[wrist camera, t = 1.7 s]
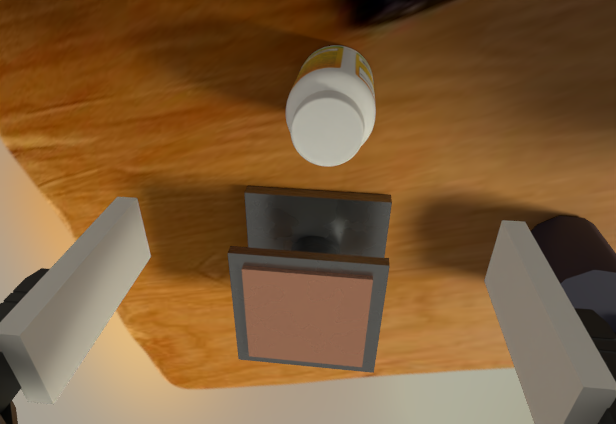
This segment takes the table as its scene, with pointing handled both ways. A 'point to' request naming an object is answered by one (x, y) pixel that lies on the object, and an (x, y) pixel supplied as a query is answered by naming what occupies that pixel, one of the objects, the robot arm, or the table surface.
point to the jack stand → (311, 277)
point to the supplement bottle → (331, 106)
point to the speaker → (581, 263)
